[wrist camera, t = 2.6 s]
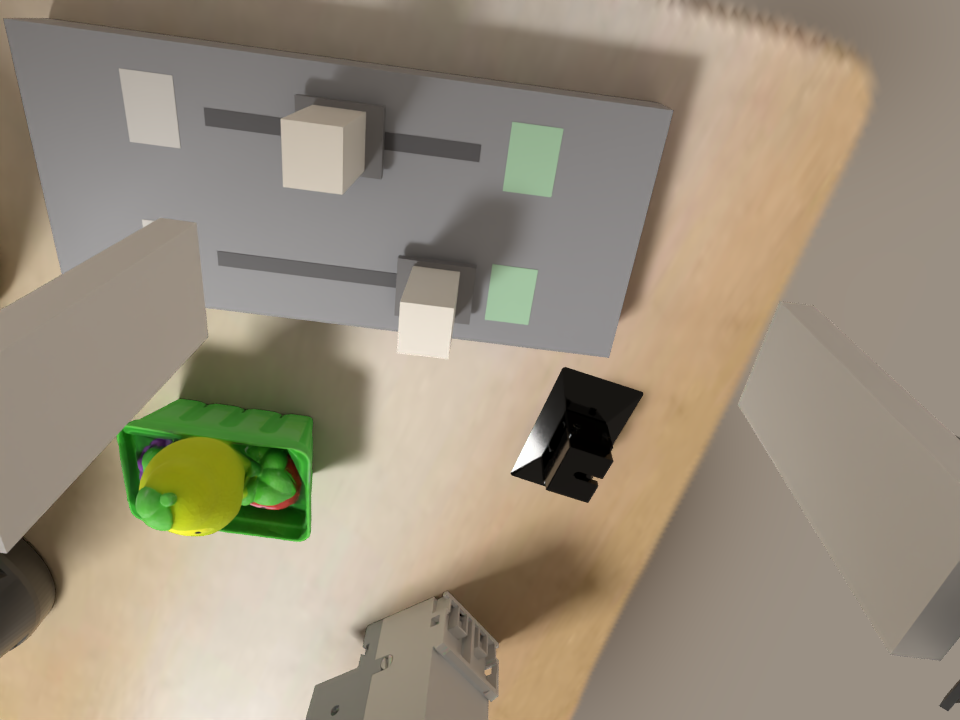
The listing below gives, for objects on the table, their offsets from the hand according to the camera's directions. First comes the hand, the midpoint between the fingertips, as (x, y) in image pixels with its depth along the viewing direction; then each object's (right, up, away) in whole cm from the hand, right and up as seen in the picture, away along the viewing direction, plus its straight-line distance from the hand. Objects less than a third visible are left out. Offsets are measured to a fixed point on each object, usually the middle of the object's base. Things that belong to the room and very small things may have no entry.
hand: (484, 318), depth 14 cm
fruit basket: (-16, -6, +28) cm, 32 cm away
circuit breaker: (-7, -25, +38) cm, 46 cm away
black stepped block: (+6, -6, +27) cm, 29 cm away
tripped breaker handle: (-7, +9, +15) cm, 19 cm away
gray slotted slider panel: (-7, +8, +19) cm, 22 cm away
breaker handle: (-2, +3, +18) cm, 19 cm away
